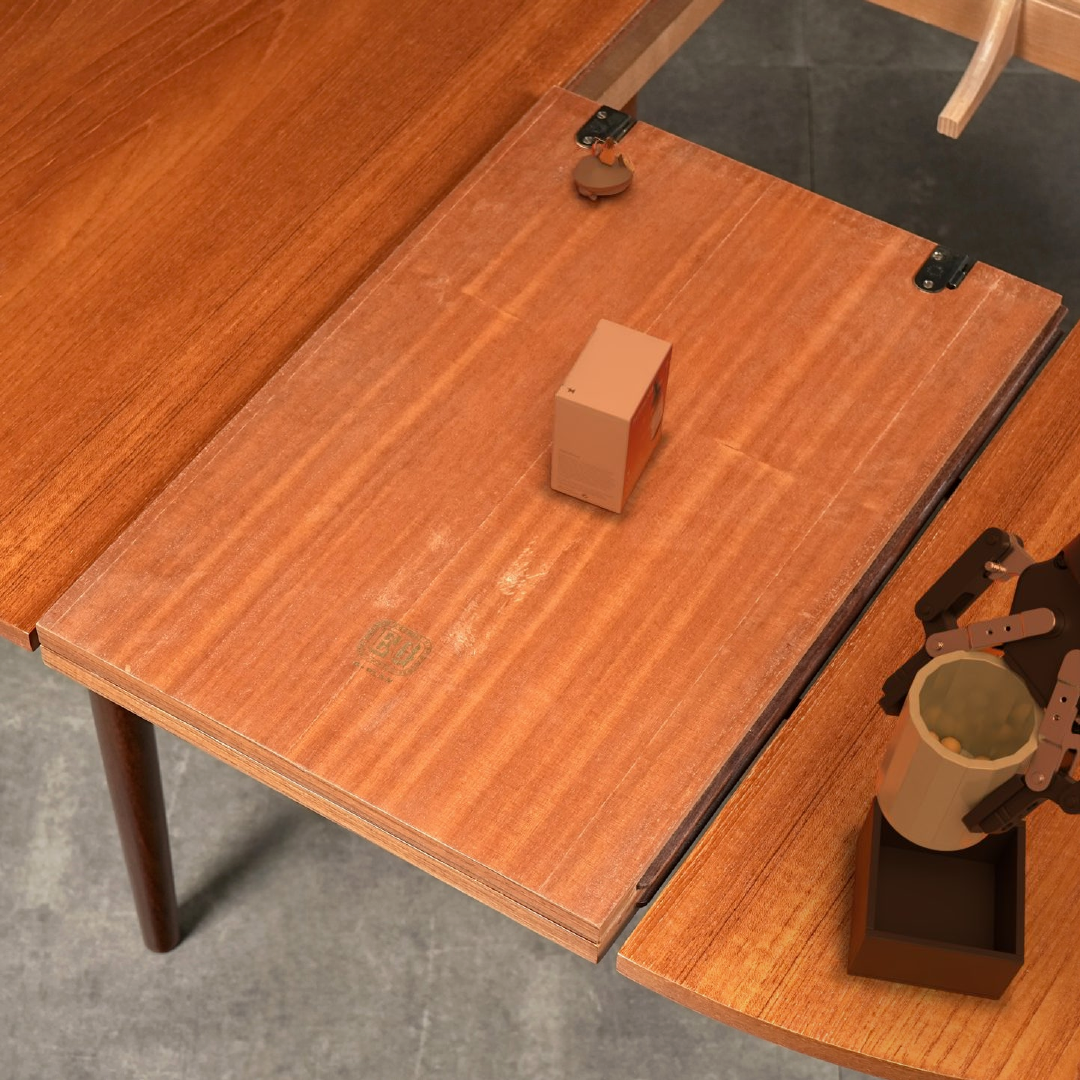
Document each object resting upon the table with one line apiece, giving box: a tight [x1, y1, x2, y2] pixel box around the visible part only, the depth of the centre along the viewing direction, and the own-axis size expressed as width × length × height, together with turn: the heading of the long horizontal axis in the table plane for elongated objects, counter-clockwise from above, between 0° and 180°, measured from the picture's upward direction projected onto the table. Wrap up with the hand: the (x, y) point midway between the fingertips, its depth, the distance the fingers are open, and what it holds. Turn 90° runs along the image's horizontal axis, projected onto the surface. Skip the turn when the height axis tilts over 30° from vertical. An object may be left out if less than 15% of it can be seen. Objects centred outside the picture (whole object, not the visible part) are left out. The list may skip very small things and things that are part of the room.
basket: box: [846, 795, 1027, 1001], centre depth 101 cm, size 9×9×6 cm
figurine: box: [572, 136, 637, 202], centre depth 137 cm, size 5×4×6 cm
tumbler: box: [875, 650, 1046, 851], centre depth 84 cm, size 6×6×9 cm
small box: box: [550, 317, 674, 515], centre depth 119 cm, size 8×6×10 cm
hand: (930, 767), depth 84 cm, fingers closed on tumbler, 6 cm apart
